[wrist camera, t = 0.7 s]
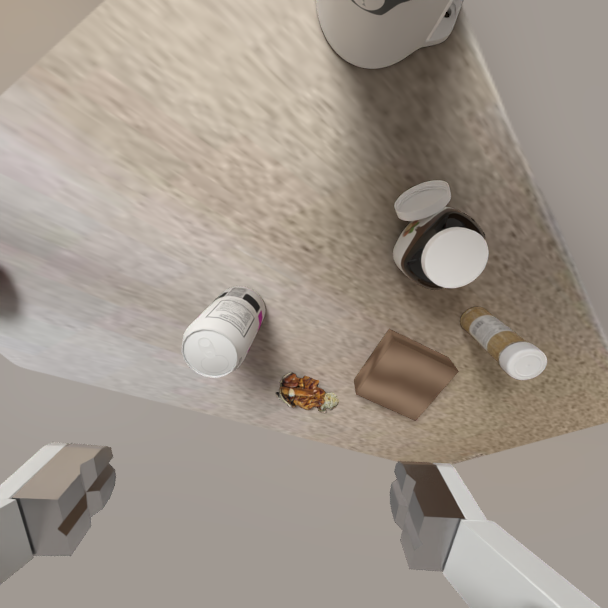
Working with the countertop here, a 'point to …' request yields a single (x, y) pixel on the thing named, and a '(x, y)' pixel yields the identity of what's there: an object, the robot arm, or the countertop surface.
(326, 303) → the countertop surface
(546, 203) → the countertop surface
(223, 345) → the supplement can
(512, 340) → the sprinkles bottle
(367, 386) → the walnut base
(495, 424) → the countertop surface
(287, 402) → the pastry
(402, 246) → the spread jar
